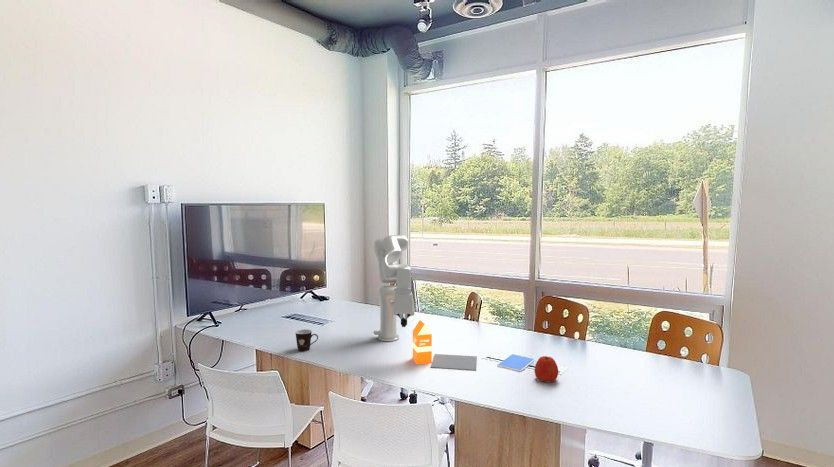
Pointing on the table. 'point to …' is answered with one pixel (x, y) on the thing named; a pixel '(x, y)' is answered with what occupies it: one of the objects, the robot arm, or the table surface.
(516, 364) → the tablet computer
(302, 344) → the coffee mug
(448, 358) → the mat
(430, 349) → the orange juice
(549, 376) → the apple
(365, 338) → the table surface
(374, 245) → the robot arm
